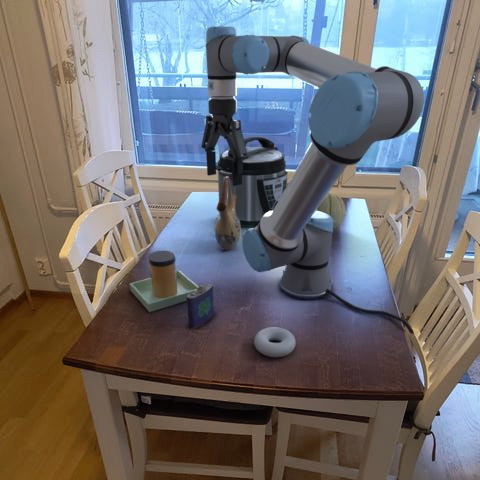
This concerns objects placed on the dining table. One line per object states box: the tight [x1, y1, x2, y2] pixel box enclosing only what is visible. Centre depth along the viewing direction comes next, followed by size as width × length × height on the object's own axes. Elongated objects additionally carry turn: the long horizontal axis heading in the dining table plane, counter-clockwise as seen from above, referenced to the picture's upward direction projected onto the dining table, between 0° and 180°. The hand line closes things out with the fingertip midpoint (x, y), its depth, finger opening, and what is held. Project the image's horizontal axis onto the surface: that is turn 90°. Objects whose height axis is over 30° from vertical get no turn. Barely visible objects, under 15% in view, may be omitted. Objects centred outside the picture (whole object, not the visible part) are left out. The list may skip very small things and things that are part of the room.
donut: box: [253, 326, 296, 358], centre depth 101 cm, size 10×4×10 cm
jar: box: [147, 250, 178, 298], centre depth 121 cm, size 8×8×12 cm
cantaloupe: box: [316, 192, 347, 231], centre depth 163 cm, size 15×15×15 cm
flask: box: [186, 283, 215, 329], centre depth 109 cm, size 9×3×11 cm, turn 144°
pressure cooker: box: [216, 135, 288, 227], centre depth 170 cm, size 30×28×32 cm
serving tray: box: [129, 269, 199, 313], centre depth 124 cm, size 14×16×2 cm
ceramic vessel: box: [214, 177, 242, 251], centre depth 146 cm, size 16×9×25 cm, turn 166°
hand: (224, 179), depth 123 cm, fingers open, 13 cm apart
